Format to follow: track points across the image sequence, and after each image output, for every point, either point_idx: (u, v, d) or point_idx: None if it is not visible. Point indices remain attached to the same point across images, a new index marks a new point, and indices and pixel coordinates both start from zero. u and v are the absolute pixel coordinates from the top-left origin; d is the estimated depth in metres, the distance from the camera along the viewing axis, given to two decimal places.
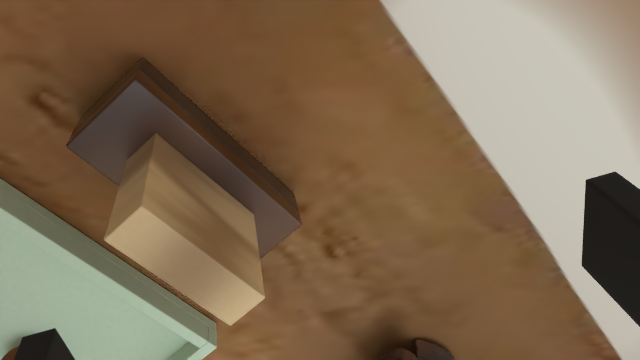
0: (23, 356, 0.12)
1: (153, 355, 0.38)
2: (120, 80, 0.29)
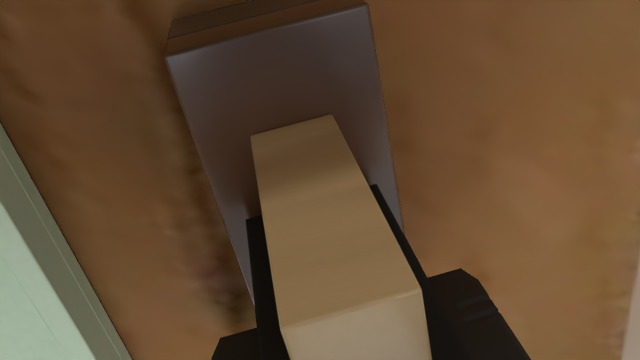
0: (255, 231, 0.14)
1: None
2: None
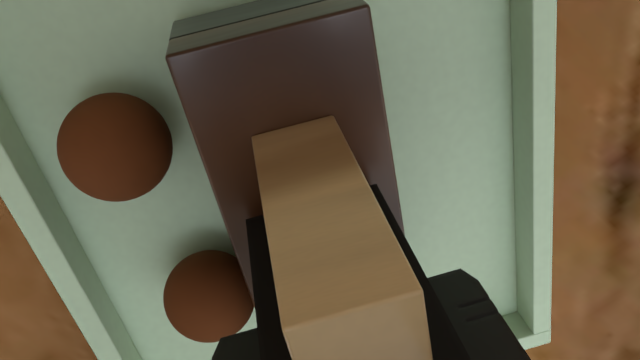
0: (255, 231, 0.14)
1: None
2: None
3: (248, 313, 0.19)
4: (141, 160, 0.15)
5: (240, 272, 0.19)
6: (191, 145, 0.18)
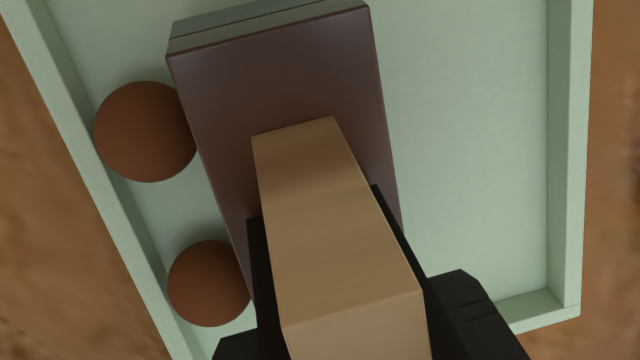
0: (254, 231, 0.14)
1: None
2: None
3: (199, 322, 0.20)
4: (133, 155, 0.16)
5: (205, 290, 0.19)
6: None
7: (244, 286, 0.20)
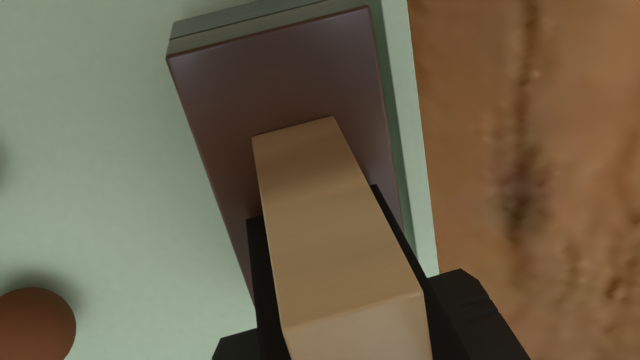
0: (255, 231, 0.14)
1: None
2: None
3: None
4: None
5: None
6: (64, 169, 0.19)
7: (48, 342, 0.19)
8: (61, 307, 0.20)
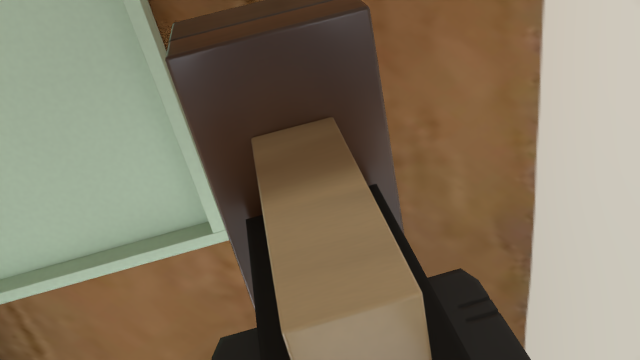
0: (254, 231, 0.14)
1: (153, 223, 0.34)
2: None
3: None
4: None
5: None
6: None
7: None
8: None
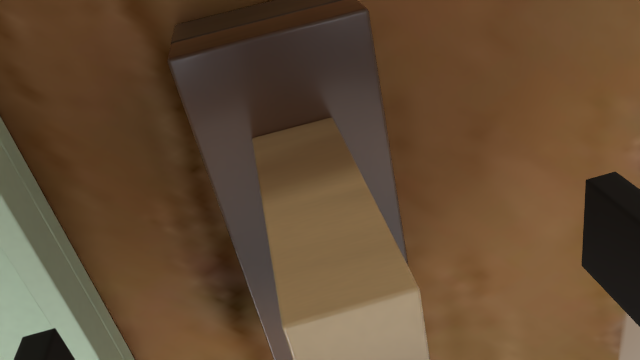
0: (23, 357, 0.12)
1: None
2: (289, 0, 0.16)
3: None
4: None
5: None
6: None
7: None
8: None
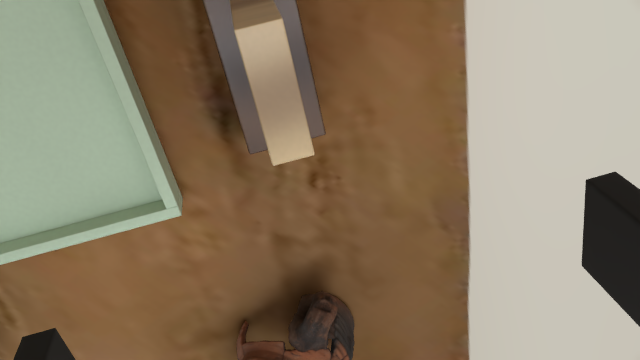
0: (23, 357, 0.12)
1: (112, 200, 0.38)
2: None
3: None
4: None
5: None
6: None
7: None
8: None
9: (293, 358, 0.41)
